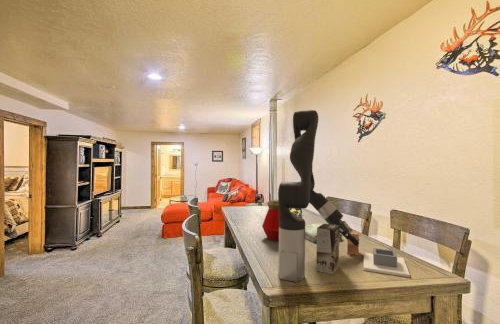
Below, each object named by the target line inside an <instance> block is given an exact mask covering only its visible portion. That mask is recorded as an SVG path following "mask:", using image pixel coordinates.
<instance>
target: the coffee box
mask: <svg viewBox="0 0 500 324" xmlns="http://www.w3.org/2000/svg"><path fill="white" fill-rule="evenodd" d="M315 261H316V263H315V264H316V269H315V270H316V271H318V272H322V273H326V274H330V275H333V274H334V273H335V271H336V270H337V269H338V268H339V267H340V239H339V225H333V224H328V223H324V224H322V225H321V226H319V227H318V228H317V242H316V258H315Z"/></svg>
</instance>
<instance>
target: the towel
mask: <svg viewBox="0 0 500 324" xmlns="http://www.w3.org/2000/svg"><path fill="white" fill-rule="evenodd" d="M322 224H325V223H324V222H319V223H312V224H305V240H308V241H310V242H312V243H317V228H318V227H319V226H321V225H322ZM342 239H343V235H342V234H341V233H340V232H339V240H342Z"/></svg>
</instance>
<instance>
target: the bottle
mask: <svg viewBox="0 0 500 324" xmlns="http://www.w3.org/2000/svg"><path fill="white" fill-rule="evenodd" d="M266 204H267V207H268V210H267V212H266V214H265V217H264V220H263V223H262V229H263V232H264V234H265V236H266V237H267V239H268V240H270V241H273V242H279V203H278V199H269V200H268V201H267V203H266Z"/></svg>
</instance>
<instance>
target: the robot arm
mask: <svg viewBox="0 0 500 324" xmlns="http://www.w3.org/2000/svg"><path fill="white" fill-rule="evenodd" d="M292 126H293V127H292V128H293V135H294V141H293V143H292V145H291V147H290V154H289V161H290V163H291V165H292V166H293V168H294V170H296V172H297V174H298V175H299V177H300V181H282V182H280V184H279V186H278V192H277V196H278V198H277V200H278V203H279V241H278V277H279V280H284V281H290V282H293V283H294V282H296V283H297V282H299V281H302V280H304V278H305V275H306V274H305V270H306V269H305V267H306V238H305V225H306V220H305V219H304V218H303V217H300V216H298V215H296V214H294V213H293V212H292V211H291V210H290V209H300V210H302V209H306V208H308V207H309V204H310V205H311V206H312V207H313V208H314V209H315V211H317V213H318V214H319V215H320V216H321V217H322V218H323V220H324V221H325V222H326V224H333V225H339V232H340V234H342V237H344V238H345V239H346V240H347V241H348V239H349V240H350V241H351V242H352V243H353V244H354V245H355V246H357V245H358V244H360V241H359V242H358V241H357V240H356V238H355V237H354V236H353V235H352V234H351V233H350V231H354V230H353V229H352V228H351V226H350V225H348V223H347V221H345V220H342V219H343V217H344V214H343V213H342V212H341V211H339V209H338V208H337V207H336V206H335V205H334V204H333V203H332V202H331V201H329V200H328V199H327V198H326V197H325V195H324V194H322V193H321V192H316V191H315V190H314V189H315V184H316V181H315V177H314V172H313V164H314V163H313V162H314V156H315V144H316V141H315V140H316V136H317V135H316V134H317V130H318V126H319V114H318V111H317V110H315V109H301V110H295V111H294V112H293V116H292ZM303 131H304V132H303ZM302 132H303V133H302Z"/></svg>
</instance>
